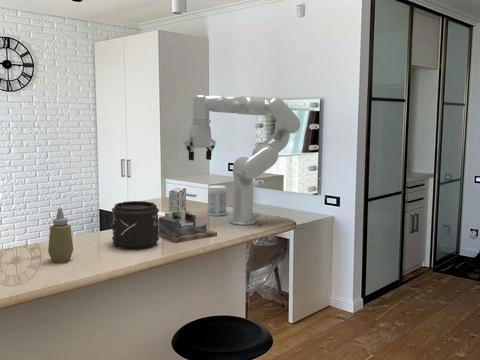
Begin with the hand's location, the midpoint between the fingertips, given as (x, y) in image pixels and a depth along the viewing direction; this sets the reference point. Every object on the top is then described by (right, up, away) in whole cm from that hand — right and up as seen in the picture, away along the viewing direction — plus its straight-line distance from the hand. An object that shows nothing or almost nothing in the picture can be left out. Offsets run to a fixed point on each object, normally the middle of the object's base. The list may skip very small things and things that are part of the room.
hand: (200, 159), depth 217 cm
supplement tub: (+6, -27, +28) cm, 40 cm away
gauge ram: (-6, -31, -17) cm, 36 cm away
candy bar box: (-11, -30, +3) cm, 32 cm away
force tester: (-5, -33, -17) cm, 37 cm away
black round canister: (-23, -35, -34) cm, 53 cm away
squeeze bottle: (-43, -37, -57) cm, 80 cm away
